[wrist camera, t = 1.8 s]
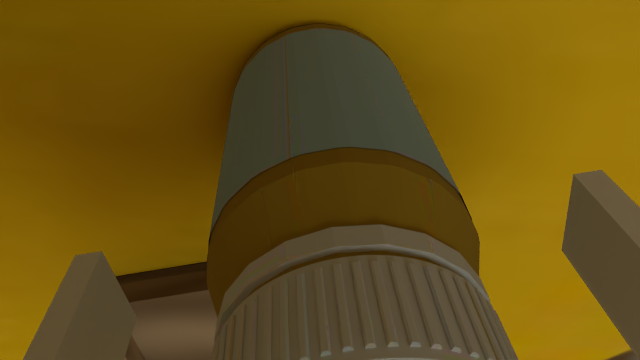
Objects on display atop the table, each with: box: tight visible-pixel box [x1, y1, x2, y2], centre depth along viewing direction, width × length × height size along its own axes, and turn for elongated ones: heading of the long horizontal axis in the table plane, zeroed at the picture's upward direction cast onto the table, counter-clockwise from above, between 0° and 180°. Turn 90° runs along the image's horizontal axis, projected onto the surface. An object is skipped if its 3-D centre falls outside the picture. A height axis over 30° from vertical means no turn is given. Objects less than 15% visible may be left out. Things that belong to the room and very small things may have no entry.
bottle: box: [207, 24, 518, 360], centre depth 15 cm, size 7×7×15 cm
